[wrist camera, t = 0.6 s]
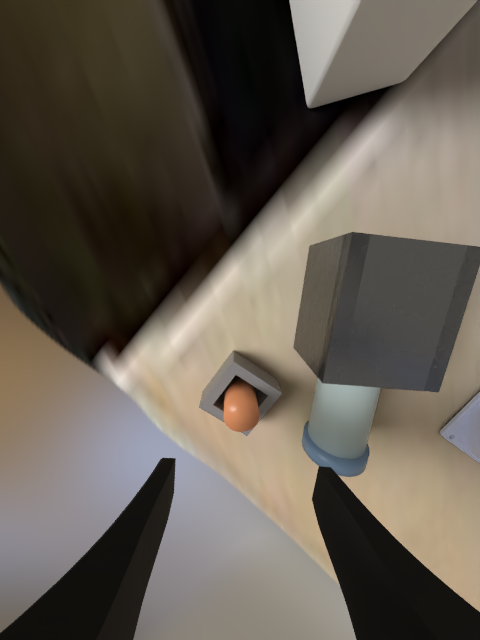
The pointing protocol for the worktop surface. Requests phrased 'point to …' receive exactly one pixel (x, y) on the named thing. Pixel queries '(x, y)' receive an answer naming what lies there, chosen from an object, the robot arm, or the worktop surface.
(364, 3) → the medicine bottle
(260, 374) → the block
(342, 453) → the cylinder
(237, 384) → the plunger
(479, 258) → the block
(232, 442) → the worktop surface
